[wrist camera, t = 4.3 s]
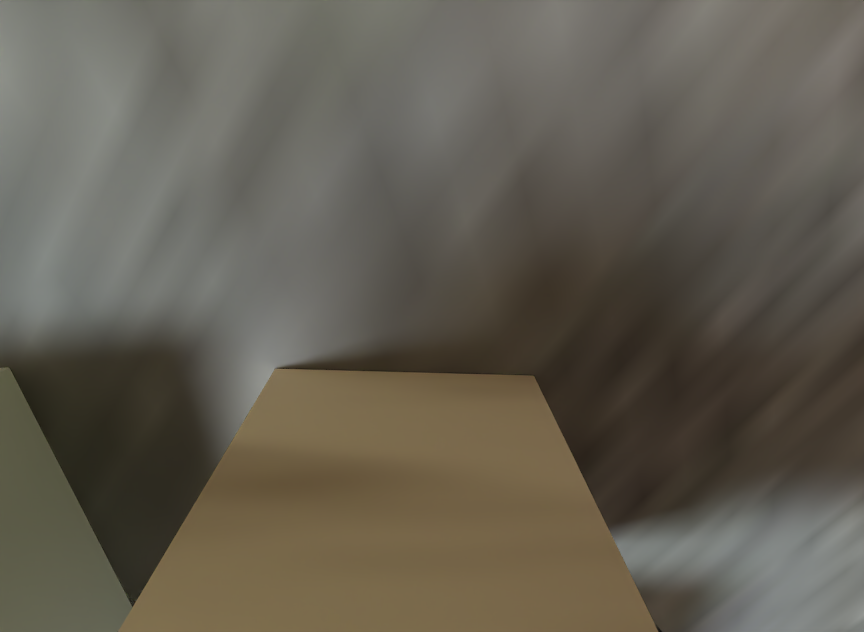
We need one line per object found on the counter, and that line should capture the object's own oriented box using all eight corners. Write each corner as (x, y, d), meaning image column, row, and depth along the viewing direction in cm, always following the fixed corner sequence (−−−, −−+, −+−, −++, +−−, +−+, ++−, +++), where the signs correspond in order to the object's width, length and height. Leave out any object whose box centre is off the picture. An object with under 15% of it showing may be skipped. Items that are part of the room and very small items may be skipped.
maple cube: (503, 552, 10) (574, 890, 6) (295, 551, 10) (193, 904, 5) (533, 375, 8) (679, 675, 4) (275, 368, 8) (87, 681, 3)
